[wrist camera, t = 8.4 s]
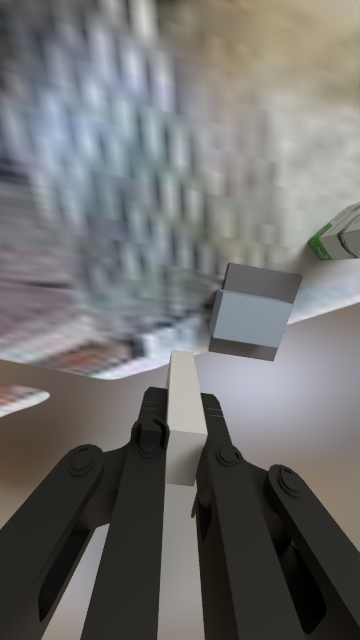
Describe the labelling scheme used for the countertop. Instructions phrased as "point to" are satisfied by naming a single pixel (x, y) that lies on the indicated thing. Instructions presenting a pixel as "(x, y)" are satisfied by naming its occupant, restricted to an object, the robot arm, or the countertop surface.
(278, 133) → the countertop surface
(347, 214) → the ink box
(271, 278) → the mat
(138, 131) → the countertop surface
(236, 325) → the block
